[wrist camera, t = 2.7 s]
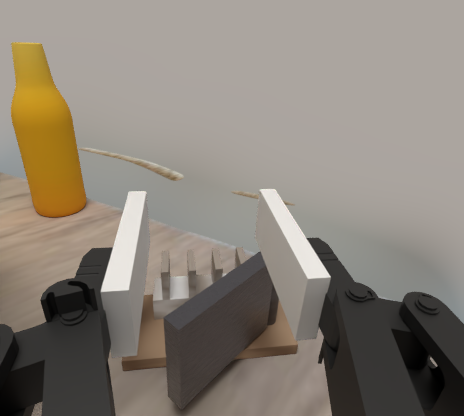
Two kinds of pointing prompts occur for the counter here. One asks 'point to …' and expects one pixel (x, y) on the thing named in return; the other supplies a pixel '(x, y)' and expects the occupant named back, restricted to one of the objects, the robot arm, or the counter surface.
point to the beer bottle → (45, 135)
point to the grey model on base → (183, 289)
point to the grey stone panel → (215, 328)
